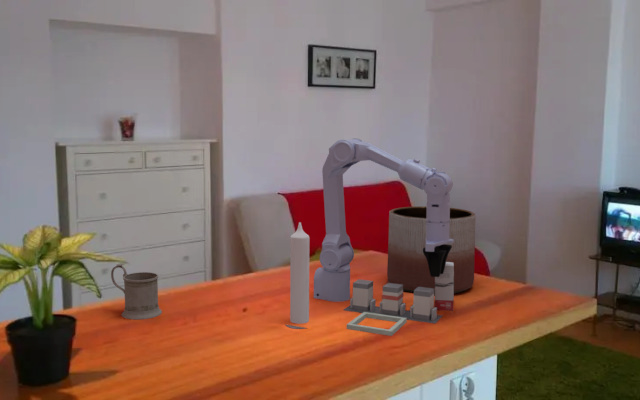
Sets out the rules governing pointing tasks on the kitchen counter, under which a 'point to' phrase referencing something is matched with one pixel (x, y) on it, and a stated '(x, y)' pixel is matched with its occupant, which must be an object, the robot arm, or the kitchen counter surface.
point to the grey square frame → (390, 332)
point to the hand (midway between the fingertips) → (437, 274)
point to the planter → (409, 242)
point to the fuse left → (362, 294)
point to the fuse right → (423, 303)
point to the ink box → (445, 288)
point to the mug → (139, 294)
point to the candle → (299, 278)
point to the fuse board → (403, 312)
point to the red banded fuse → (392, 299)
